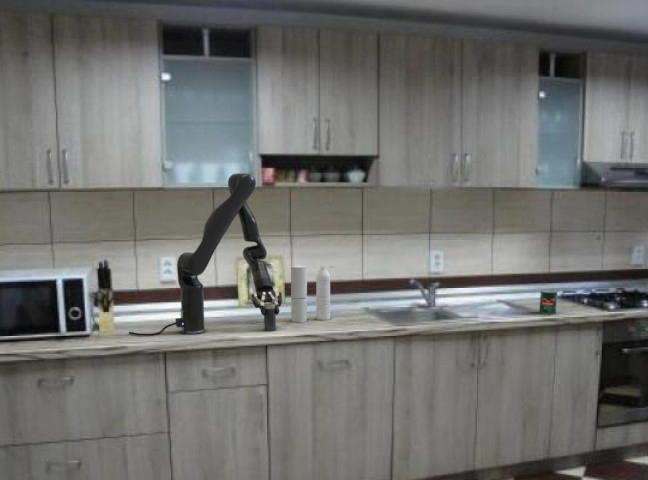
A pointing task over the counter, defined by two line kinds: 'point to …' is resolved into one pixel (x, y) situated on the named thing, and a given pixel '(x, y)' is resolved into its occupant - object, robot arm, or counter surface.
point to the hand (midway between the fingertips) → (271, 314)
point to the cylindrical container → (298, 293)
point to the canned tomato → (548, 302)
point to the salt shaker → (270, 317)
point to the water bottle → (323, 294)
